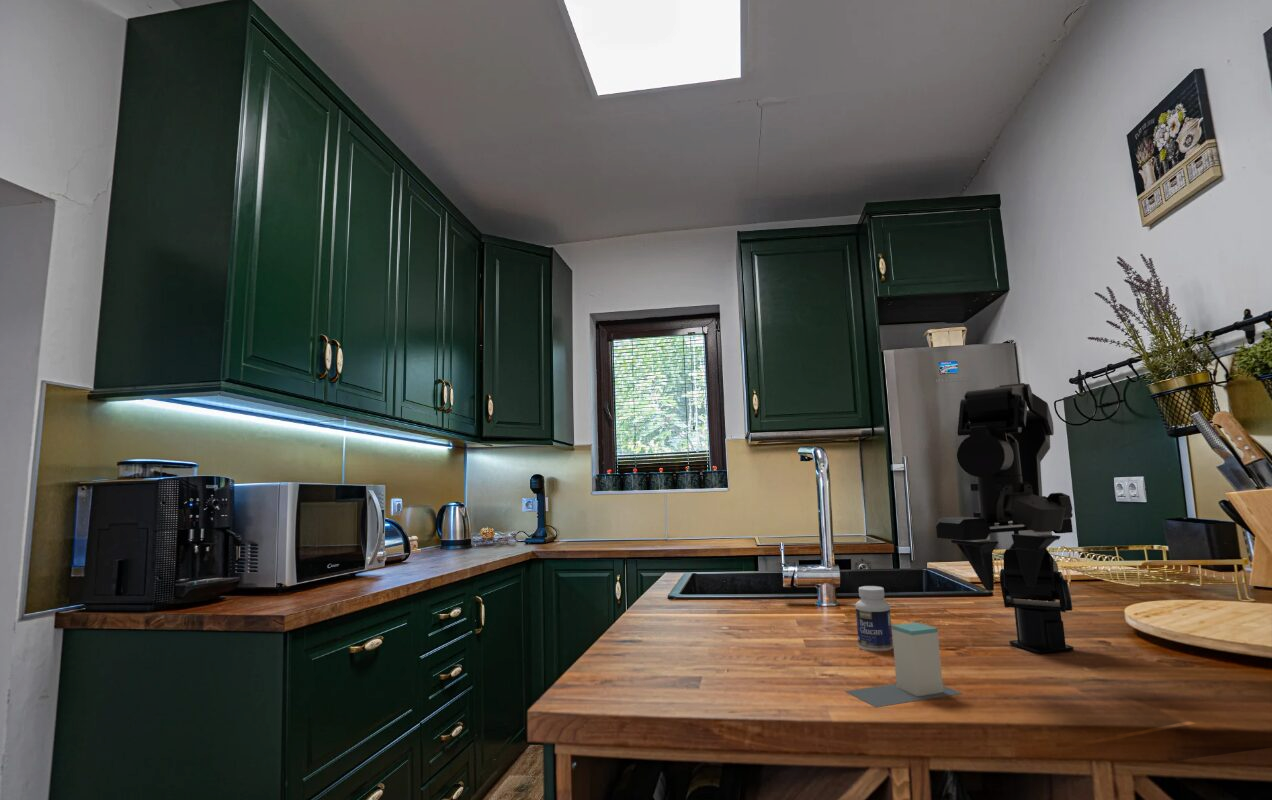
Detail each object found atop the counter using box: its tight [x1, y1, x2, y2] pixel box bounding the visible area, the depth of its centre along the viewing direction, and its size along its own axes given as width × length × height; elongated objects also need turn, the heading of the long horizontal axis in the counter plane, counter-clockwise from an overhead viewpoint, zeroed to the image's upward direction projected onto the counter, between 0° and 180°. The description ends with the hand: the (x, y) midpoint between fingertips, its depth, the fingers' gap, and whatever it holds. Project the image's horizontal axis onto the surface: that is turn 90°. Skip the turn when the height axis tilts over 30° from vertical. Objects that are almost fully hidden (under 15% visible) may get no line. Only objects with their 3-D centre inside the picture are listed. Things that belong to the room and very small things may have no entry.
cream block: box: [891, 622, 944, 696], centre depth 87 cm, size 4×4×8 cm
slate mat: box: [844, 683, 964, 708], centre depth 86 cm, size 13×7×1 cm, turn 106°
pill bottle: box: [855, 585, 894, 652], centre depth 110 cm, size 5×5×10 cm
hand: (1010, 588), depth 93 cm, fingers open, 7 cm apart
